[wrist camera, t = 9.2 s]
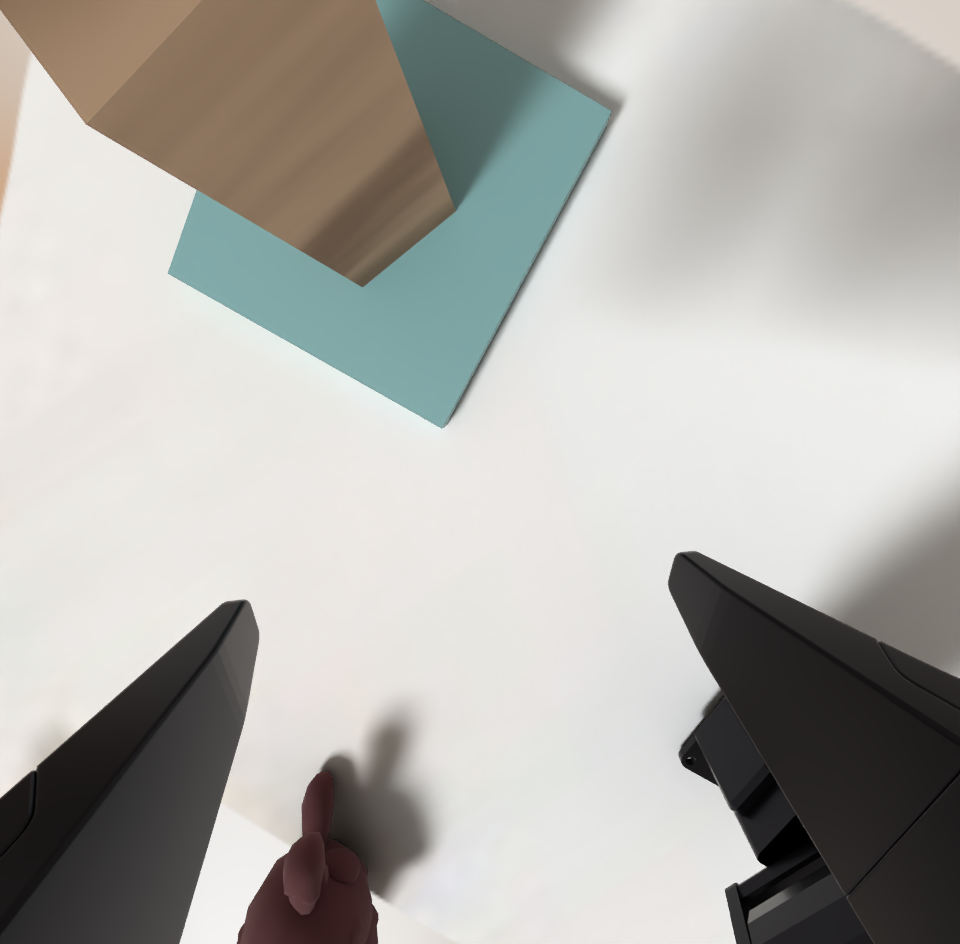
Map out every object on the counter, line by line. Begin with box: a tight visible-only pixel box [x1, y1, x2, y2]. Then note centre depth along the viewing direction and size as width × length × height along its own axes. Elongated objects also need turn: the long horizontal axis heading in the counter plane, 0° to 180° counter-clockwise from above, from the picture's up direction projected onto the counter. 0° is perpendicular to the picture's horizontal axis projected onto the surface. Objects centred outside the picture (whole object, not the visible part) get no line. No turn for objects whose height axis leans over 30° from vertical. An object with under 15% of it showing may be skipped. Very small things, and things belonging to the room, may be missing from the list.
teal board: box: [168, 0, 612, 428], centre depth 19 cm, size 14×14×1 cm
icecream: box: [237, 771, 378, 944], centre depth 24 cm, size 7×7×15 cm
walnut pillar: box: [0, 0, 456, 287], centre depth 12 cm, size 5×5×12 cm
